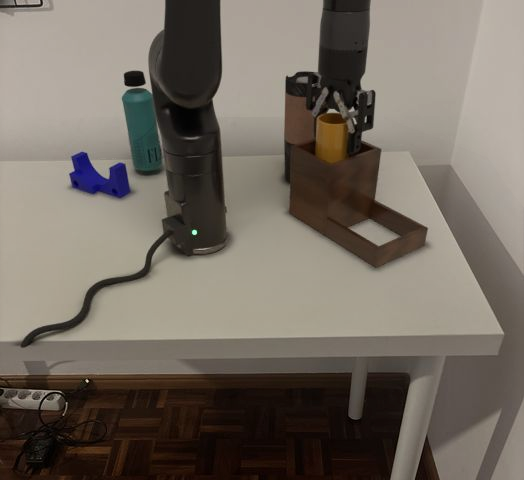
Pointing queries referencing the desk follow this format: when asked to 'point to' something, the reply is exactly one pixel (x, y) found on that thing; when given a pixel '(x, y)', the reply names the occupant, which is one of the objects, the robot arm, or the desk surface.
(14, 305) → the desk surface
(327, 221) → the organizer
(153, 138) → the beverage bottle
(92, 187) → the blue curved bracket
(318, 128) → the cup
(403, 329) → the desk surface
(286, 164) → the travel mug
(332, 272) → the desk surface
